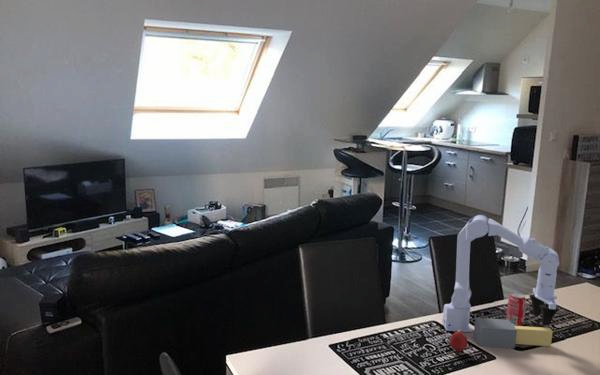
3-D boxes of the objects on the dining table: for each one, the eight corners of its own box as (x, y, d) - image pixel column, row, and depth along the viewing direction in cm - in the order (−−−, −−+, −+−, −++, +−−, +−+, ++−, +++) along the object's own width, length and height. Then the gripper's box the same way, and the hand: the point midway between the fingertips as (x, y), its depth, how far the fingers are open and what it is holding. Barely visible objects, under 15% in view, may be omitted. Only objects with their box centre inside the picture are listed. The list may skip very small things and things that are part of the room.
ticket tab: (504, 343, 171) (506, 328, 170) (502, 339, 173) (504, 325, 172) (550, 346, 170) (552, 331, 169) (547, 342, 172) (549, 327, 171)
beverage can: (519, 320, 190) (523, 292, 188) (525, 328, 184) (529, 298, 182) (503, 319, 191) (506, 291, 189) (508, 326, 185) (512, 297, 182)
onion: (457, 357, 161) (459, 335, 160) (445, 349, 166) (446, 328, 165) (469, 353, 164) (472, 332, 162) (457, 346, 169) (459, 325, 167)
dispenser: (479, 346, 169) (481, 327, 168) (473, 335, 177) (475, 317, 176) (516, 348, 168) (518, 330, 167) (508, 337, 176) (510, 319, 175)
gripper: (567, 292, 160) (562, 330, 163) (548, 276, 175) (544, 311, 177) (545, 291, 161) (540, 328, 163) (528, 275, 175) (524, 310, 178)
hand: (541, 319), depth 170 cm, fingers open, 7 cm apart
